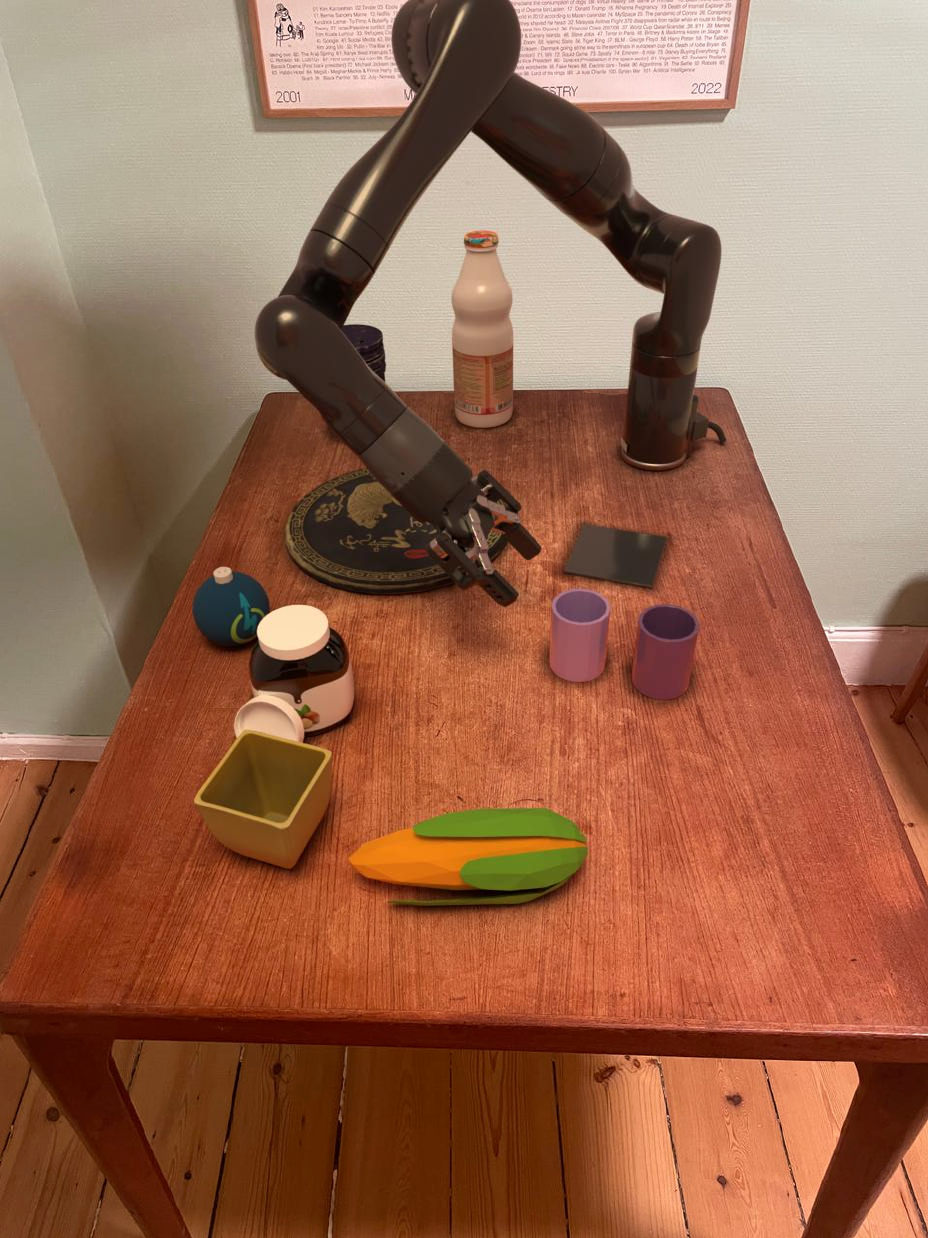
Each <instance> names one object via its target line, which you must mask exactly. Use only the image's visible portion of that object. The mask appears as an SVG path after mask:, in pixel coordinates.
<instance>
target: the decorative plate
mask: <svg viewBox="0 0 928 1238" xmlns="http://www.w3.org/2000/svg"><path fill="white" fill-rule="evenodd" d="M473 477H474V475H472V477H471V479H472V478H473ZM471 479H470V480H471ZM497 502H498V503H499V504H500V505H503V506H505V507H507V506H508V505H507V504H506V503H505V502H504V501H503V500H501V499H500V500H498V501H497ZM289 513H290V514H289V515H288V517H287V521H286V525H285V527H284V540H285V548H286V550H287V552H288V554H289V556H290V558H291V560H292V561H293V562H294V563H295V564H296V565H297V566H298V567H299V568H300V569H301V570H302V571H303V572H305V573H306V574H308V575H309V576H311V577H313V578H314V579H316V580H317V581H320V582H322V583H324V584H327V585H328V586H329V585H330V586H332V587H335V588H339V589H342V590H347V591H350V592H354V593H363V594H373V595H405V594H412V593H419V592H425V591H426V592H427V591H431V590H435V589H439V588H442V587H445V586H449V585H450V586H451V584H455V582H454V581H453V580H452V579H451V578H450V577H449V576H448V575H447V574H446V572H445V571H444V570H443V569H442V568H441V567H440V566H439V565H438V564H437V563H436V562H435V561H434V559H433V558H432V557H431V556H430V555H429V554H428V553H427V552H426V550H425V546H426V545H427V544H428V543H429V542H431V541H432V540H433V539H435V538H436V537H437V535H438V533H437V531H436V529H435V527H434V526H433V525H432V524H431V523H429V522H425V523H420V522H418V521H417V520H416V519H415V518H414V517H413V516H412V515H411V514H410V513H409V512H408V511H407V510H406V509H405V508H404V507H403V506H402V505H401V504H400V503H399V502H398V501H397V500H396V499H395V498H394V497H393V496H392V495H391V494H390V493H389V492H388V491H387V490H386V489H385V488H384V487H383V486H382V485H381V484H380V483H379V482H378V481H377V480H376V479H375V478H374V477H373V476H372V474H371V473H370V472H369V471H368V469H367V468H366V467H365V468H361V469H356V470H353V471H350V472H347V473H344V474H341V475H338V476H335V477H334V478H333V477H332V478H331V479H329V480H327V481H325V482H323V483H321V484H319V485H317V487H314V488H313V489H311V490H310V491H309V492H308V493H306V494H305V495H304V496H303V497H302V498H301V499H300V500H298V502H297V503H296V504H295V506H294V507H293V509H292V511H291V512H289ZM505 535H506V533H505V534H501V533H498V532H495V531H492V530H490V531H489V535H488V537H487V539H486V541H487V544H488V546H489V550H488V553H487V554H488V557H489V559H490V562H491V563H492V561H493V560H495V558H497V557H498V556H499V555H500V553H501V552H502V551H503V549H504V547H505V545H506V544H507V543H508V541H507V540H506V539H505V538H504V537H505ZM471 549H472V548H465V550H466V552H468V551H469V550H471ZM475 565H476V566H477V567H478V568H479V567H480V565H479V562H478V560H477V559H476V560H475ZM457 569H458V570H459V571H460V572H461V573H462V574H463V575H464V576H466V575H467V573H466V571H465V570H464V569H463V568H462V567H460V566H459V567H457Z"/></svg>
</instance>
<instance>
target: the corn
mask: <svg viewBox="0 0 928 1238" xmlns="http://www.w3.org/2000/svg"><path fill="white" fill-rule="evenodd" d="M587 843H588V841H587V837H586V835H585V834H584V833H583V831H581V829H580V828H579V826H577V824H576V823H575V822H574V821H573V820H572V819H570V818H567V817H566V816H563V815H562V814H559V813H558V812H555V811H554V810H551V809H550V808H547V807H519V808H518V807H516V808H515V807H513V808H512V807H509V808H506V807H503V808H498V807H497V808H493V807H491V808H476V809H475V808H474V809H468V810H460V811H453V812H452V811H451V812H447V813H443V814H440V815H437V816H434V817H431V818H427V819H425V820H422V821H421V822H418V823H417V824H414V825H413V827H409V828H403V829H400V830H399V829H398V830H396V831H393V832H390V833H388V834H385V835H383V836H379V837H378V838H374V839H372V840H370V841H366V842H364V843H363V844H362V845H361V846H360V847H359V848H358V849H357V850H356V851H354V852H353V853H352V854H351V855H350V856H349V857H348V858H347V859H348V861H349V863H350V865H351V867H352V868H353V870H354V871H355V872H357V873H359V874H360V875H362V876H363V877H365V878H368V879H371V880H376V881H380V882H385V883H388V884H393V885H402V886H410V887H420V888H430V889H440V890H447V891H448V890H449V891H469V890H472V891H473V890H474V891H475V890H490V891H491V890H493V891H519V890H530V889H532V890H533V889H540V888H541V889H540V890H537V891H527V892H518V893H517V892H516V893H509V894H507V893H506V894H499V895H489V896H479V897H470V898H456V899H455V898H453V899H438V900H408V899H407V900H406V899H405V900H404V899H392V900H388V901H386V903H388V904H399V905H400V904H401V905H411V906H463V905H466V906H467V905H469V906H470V905H511V904H513V905H514V904H517V905H518V904H522V903H523V904H524V903H527V902H531V901H533V900H536V899H538V898H539V897H541V896H544V895H546V894H548V893H550V892H552V891H553V892H554V891H555V890H557V889H558V888H560V887H562V886H563V885H564V884H566V882H567V881H568V880H569V879H570V878H571V877H572V876H573V875H574V874H575V873H576V872H577V871H578V870H579V868H580V867H581V866H582V865H583V862H584V861H585V859H586V858H587V856H588V853H589V852H588V850H589V848H588V846H587Z"/></svg>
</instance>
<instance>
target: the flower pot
mask: <svg viewBox="0 0 928 1238" xmlns="http://www.w3.org/2000/svg"><path fill="white" fill-rule="evenodd" d="M332 775H333V752H332V751H331V750H329V749H326V748H323V747H320V746H317V745H313V744H309V743H304V742H303V743H301V742H297V741H294V740H289V739H285V738H281V737H277V736H274V735H269V734H266V733H263V732H259V731H253V730H244V731H243V732H242V733H241V734H240V735H239V736H238V738H237V737H236V739H235V740H234V741H233V743H232V744H231V746H230V748H229V749H228V750H227V752H226V753H225V754H224V756H223V757H222V759H221V760H220V762H218V764H217V766H216V767H215V768H214V770H213V771H212V773H210V775H209V777H207V779H206V780H205V782H204V783H203V784H202V786H201V787H200V789H199V790H198V791H197V793H196V794H195V796H194V799H193V803H194V805H195V806H196V809H197V810H198V812H199V813H200V815H201V818H202V819H203V822H205V824H206V826H207V828H208V830H209V832H210V833H211V834H212V836H213V837H214V838H215V839H216V841H218V843H220V844H222V845H223V846H224V847H225V848H227V849H229V850H231V851H233V852H235V853H236V854H239V855H241V856H244V857H246V858H251V859H254V860H257V861H260V862H265V863H267V864H271V865H274V866H277V867H279V868H284V869H288V870H289V869H290V870H291V869H292V868H293V867H295V865H296V864H297V862H298V860H299V859H300V858H301V855H302V853H303V852H304V850H305V848H306V847H307V844H308V843H309V841H310V840H311V837H312V836H313V834H314V833H315V831H316V829H317V828H318V826H319V824H320V823H321V821H322V818H323V817H324V814H326V810H327V808H328V806H329V803H330V798H331V795H332V782H333V781H332V777H333V776H332Z"/></svg>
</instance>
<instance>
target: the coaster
mask: <svg viewBox="0 0 928 1238" xmlns="http://www.w3.org/2000/svg"><path fill="white" fill-rule="evenodd" d="M667 541H668V537H667V536H661V535H655V534H649V533H644V532H643V533H642V532H636V531H630V530H623V529H617V528H611V527H605V526H597V525H592V524H586V523H584V524H583V525H582V527H581V529H580V532H579V534H578V537H577V539H576V541H575V544H574V546H573V548H572V550H571V553H570V555H569V558H568V560H567V561H566V565H565V567H564V569H563V574H565V575H571V576H577V577H582V578H588V579H593V580H600V581H604V582H611V583H617V584H622V585H627V586H634V587H638V588H639V587H640V588H645V589H650V590H652V589H653V587H654V585H655V581H656V578H657V575H658V571H659V568H660V564H661V561H662V558H663V554H664V551H665V549H666V545H667Z"/></svg>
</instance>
